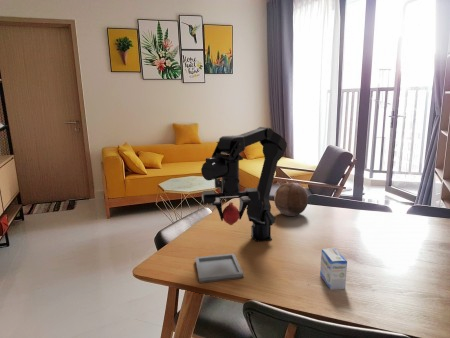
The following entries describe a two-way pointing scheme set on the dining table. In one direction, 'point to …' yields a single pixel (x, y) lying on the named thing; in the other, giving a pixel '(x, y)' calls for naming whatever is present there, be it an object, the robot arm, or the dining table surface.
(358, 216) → the dining table surface
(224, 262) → the dish
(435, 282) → the dining table surface
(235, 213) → the onion
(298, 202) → the wooden sphere
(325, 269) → the medicine box
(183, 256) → the dining table surface
